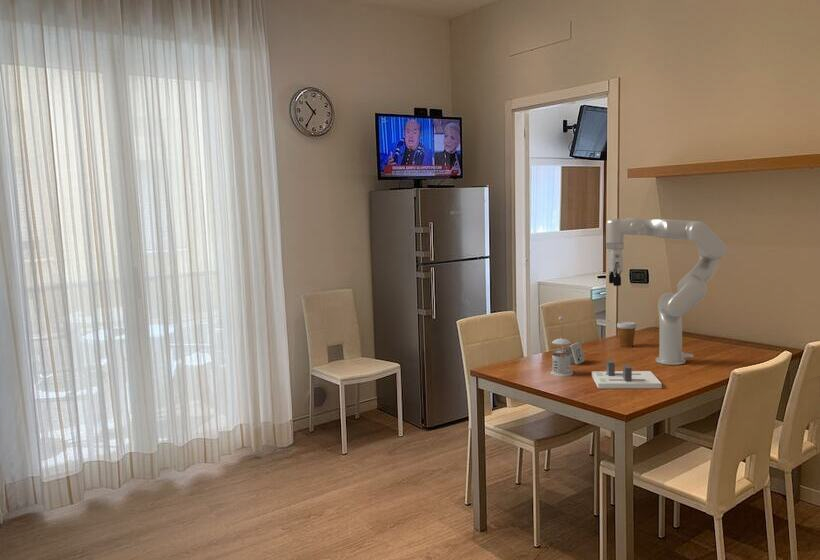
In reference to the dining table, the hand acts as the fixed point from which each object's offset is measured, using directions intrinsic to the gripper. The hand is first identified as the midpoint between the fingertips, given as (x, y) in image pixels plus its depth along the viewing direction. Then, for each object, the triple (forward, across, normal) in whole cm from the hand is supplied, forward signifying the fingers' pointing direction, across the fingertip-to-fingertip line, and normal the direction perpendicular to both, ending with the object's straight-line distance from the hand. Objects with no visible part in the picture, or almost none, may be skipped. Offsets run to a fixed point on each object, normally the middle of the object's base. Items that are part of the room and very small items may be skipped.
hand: (614, 284), depth 288 cm
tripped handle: (+34, -37, +2) cm, 50 cm away
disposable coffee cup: (+36, +35, -13) cm, 52 cm away
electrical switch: (+37, +2, +17) cm, 41 cm away
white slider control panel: (+36, -32, +2) cm, 49 cm away
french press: (+37, -16, +26) cm, 48 cm away
